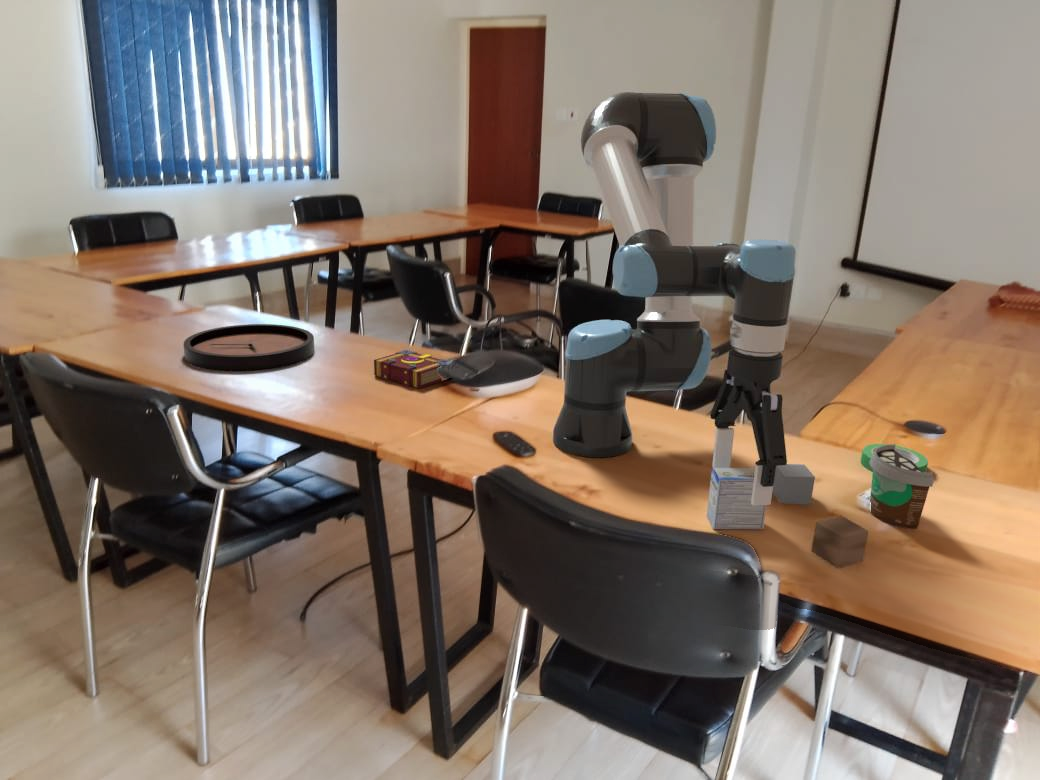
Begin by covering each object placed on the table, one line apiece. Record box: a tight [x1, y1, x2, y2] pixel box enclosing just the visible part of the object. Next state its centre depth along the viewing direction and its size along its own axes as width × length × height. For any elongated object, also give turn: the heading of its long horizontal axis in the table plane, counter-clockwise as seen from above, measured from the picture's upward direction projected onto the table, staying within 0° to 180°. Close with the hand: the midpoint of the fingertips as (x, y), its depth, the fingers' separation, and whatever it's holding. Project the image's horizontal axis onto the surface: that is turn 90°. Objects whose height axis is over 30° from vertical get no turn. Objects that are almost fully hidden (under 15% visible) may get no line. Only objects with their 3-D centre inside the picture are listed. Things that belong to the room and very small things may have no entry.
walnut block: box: [811, 515, 869, 569], centre depth 116 cm, size 5×5×5 cm
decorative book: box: [373, 349, 450, 389], centre depth 190 cm, size 11×16×5 cm
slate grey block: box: [772, 463, 816, 505], centre depth 134 cm, size 5×5×5 cm
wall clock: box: [183, 323, 316, 373], centre depth 205 cm, size 31×4×31 cm
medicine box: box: [706, 467, 768, 530], centre depth 124 cm, size 8×4×9 cm, turn 92°
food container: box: [869, 443, 934, 530], centre depth 128 cm, size 12×6×10 cm, turn 4°
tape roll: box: [860, 443, 929, 473], centre depth 148 cm, size 11×11×3 cm
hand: (739, 484), depth 123 cm, fingers open, 13 cm apart
